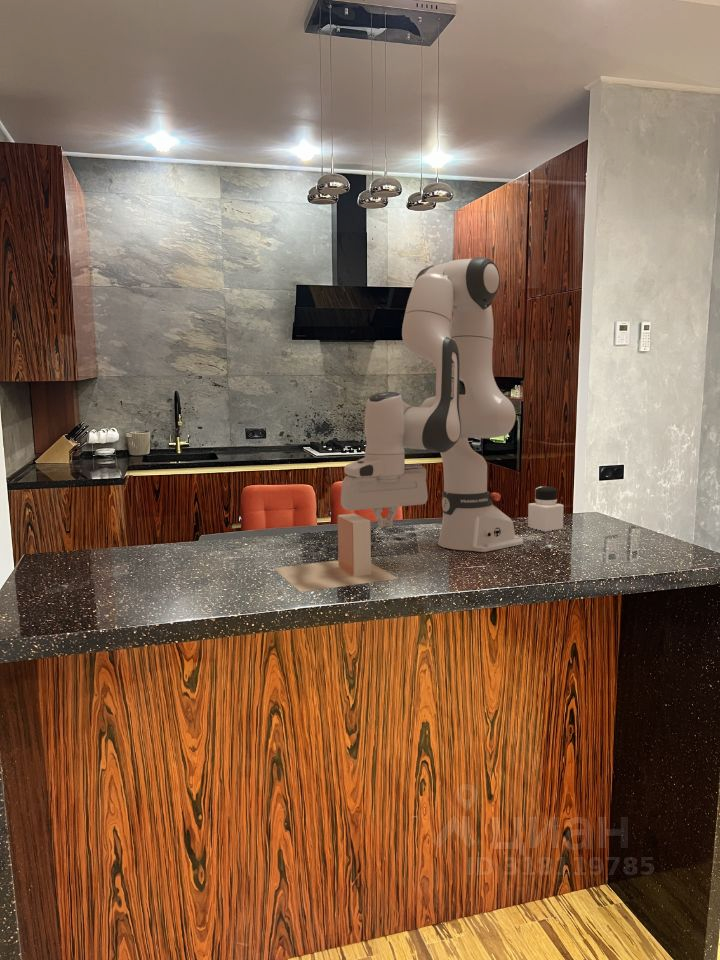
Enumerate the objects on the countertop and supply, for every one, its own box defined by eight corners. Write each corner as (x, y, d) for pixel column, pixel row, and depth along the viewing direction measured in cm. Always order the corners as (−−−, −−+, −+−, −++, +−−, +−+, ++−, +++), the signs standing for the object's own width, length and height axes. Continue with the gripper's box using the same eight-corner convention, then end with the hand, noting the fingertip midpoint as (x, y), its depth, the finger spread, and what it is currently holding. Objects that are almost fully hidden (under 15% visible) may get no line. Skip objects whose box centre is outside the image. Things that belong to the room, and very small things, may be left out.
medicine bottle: (563, 529, 201) (564, 487, 199) (545, 532, 198) (546, 489, 196) (545, 524, 207) (546, 484, 205) (527, 527, 204) (528, 486, 202)
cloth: (362, 561, 169) (362, 557, 168) (398, 583, 150) (398, 578, 150) (273, 572, 160) (273, 568, 160) (300, 596, 142) (300, 591, 142)
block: (355, 564, 162) (354, 513, 160) (371, 574, 154) (370, 520, 152) (338, 566, 160) (337, 515, 159) (353, 576, 152) (352, 522, 150)
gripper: (419, 461, 163) (419, 520, 165) (337, 466, 156) (338, 528, 157) (432, 464, 158) (432, 525, 160) (348, 470, 150) (349, 533, 152)
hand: (385, 526), depth 158 cm, fingers closed
